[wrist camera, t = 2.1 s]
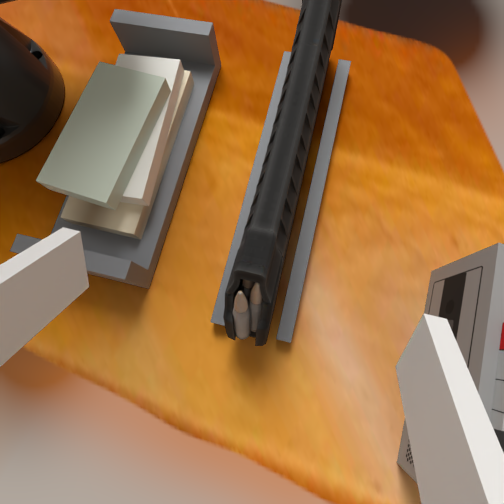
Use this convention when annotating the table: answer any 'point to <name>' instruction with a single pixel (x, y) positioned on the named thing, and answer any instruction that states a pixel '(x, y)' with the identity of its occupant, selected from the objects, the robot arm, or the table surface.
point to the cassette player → (471, 328)
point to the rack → (204, 76)
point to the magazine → (280, 177)
